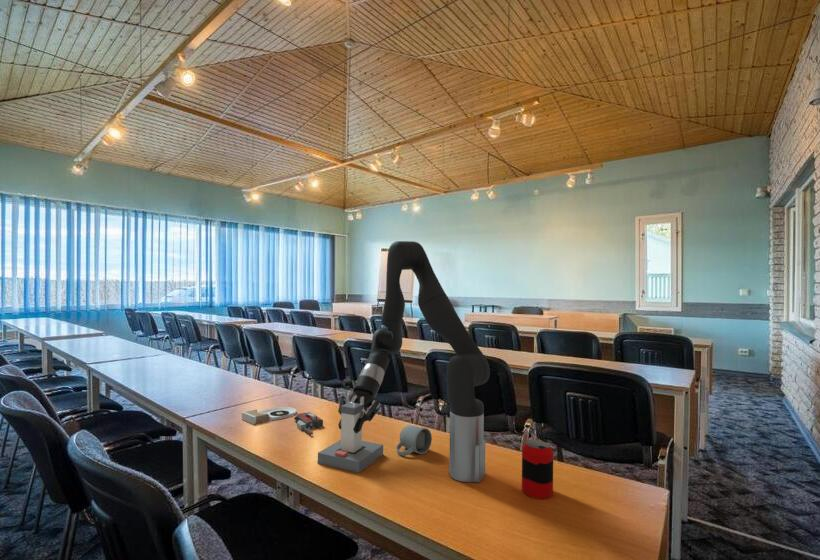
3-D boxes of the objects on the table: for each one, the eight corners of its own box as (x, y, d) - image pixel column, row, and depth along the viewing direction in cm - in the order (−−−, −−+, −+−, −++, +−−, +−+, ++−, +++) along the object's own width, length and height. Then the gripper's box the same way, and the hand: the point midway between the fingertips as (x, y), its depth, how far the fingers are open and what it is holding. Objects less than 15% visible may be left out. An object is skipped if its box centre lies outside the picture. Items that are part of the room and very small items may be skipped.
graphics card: (240, 411, 159) (286, 401, 174) (240, 419, 159) (285, 409, 174) (255, 417, 152) (302, 407, 167) (255, 426, 151) (301, 415, 167)
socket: (383, 454, 127) (383, 442, 127) (358, 472, 114) (359, 459, 114) (344, 446, 132) (345, 434, 133) (317, 463, 120) (317, 450, 120)
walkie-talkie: (288, 422, 157) (308, 438, 140) (289, 410, 157) (309, 425, 140) (310, 418, 162) (332, 433, 145) (311, 407, 162) (332, 421, 145)
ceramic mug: (414, 443, 136) (414, 420, 136) (432, 450, 131) (432, 426, 131) (390, 452, 129) (390, 427, 129) (408, 460, 123) (408, 434, 123)
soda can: (532, 501, 100) (532, 451, 100) (516, 486, 107) (516, 440, 107) (559, 497, 102) (559, 448, 102) (541, 483, 109) (541, 437, 110)
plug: (362, 447, 125) (363, 404, 125) (353, 453, 120) (354, 408, 120) (348, 444, 127) (349, 402, 127) (339, 450, 122) (340, 406, 122)
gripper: (346, 372, 133) (322, 420, 122) (385, 376, 127) (364, 428, 116) (354, 385, 138) (333, 432, 127) (392, 390, 132) (373, 440, 121)
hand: (348, 430), depth 122 cm, fingers closed on plug, 4 cm apart
